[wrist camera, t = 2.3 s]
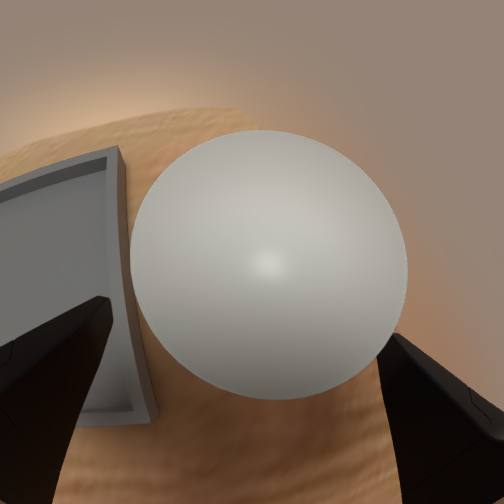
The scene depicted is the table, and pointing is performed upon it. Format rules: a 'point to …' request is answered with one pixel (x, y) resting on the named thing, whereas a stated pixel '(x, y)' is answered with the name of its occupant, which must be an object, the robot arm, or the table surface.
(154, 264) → the candle
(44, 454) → the robot arm
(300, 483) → the table surface
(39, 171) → the tray
